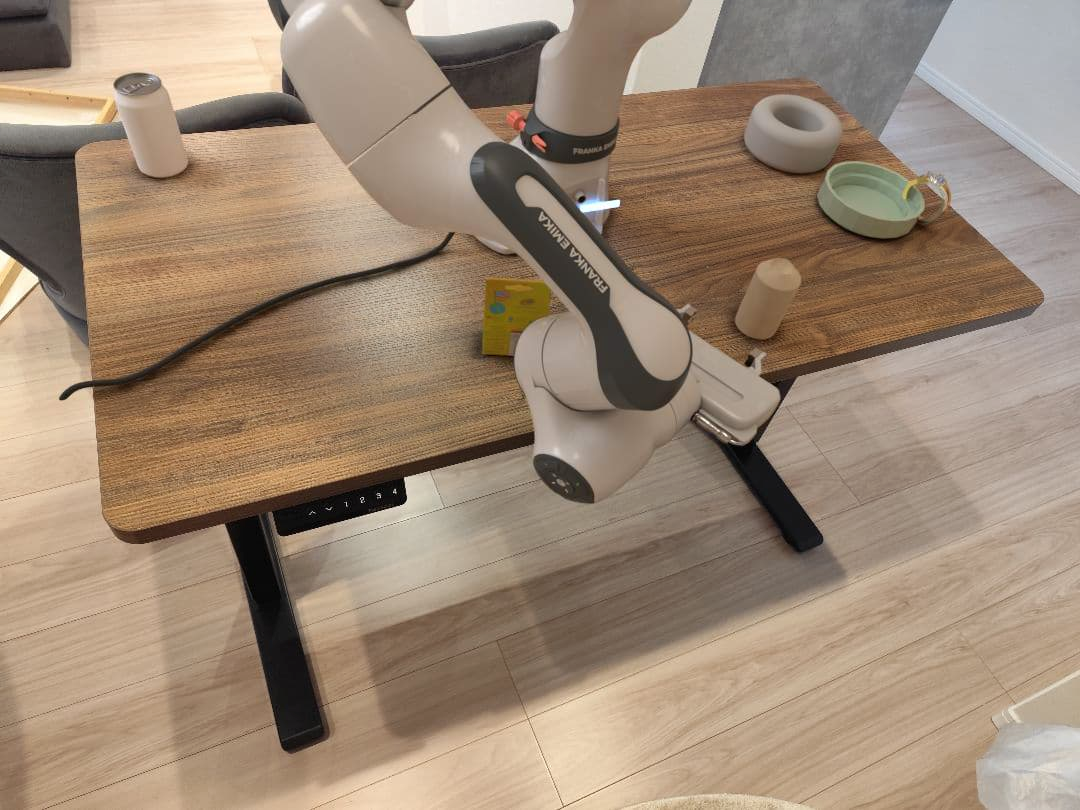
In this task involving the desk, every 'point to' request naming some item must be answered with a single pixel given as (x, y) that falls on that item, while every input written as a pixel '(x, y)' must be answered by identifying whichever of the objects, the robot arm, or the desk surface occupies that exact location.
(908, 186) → the ring
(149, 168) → the can
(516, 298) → the crayon box
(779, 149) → the donut shape
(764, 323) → the candle
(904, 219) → the bowl
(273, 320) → the desk surface
